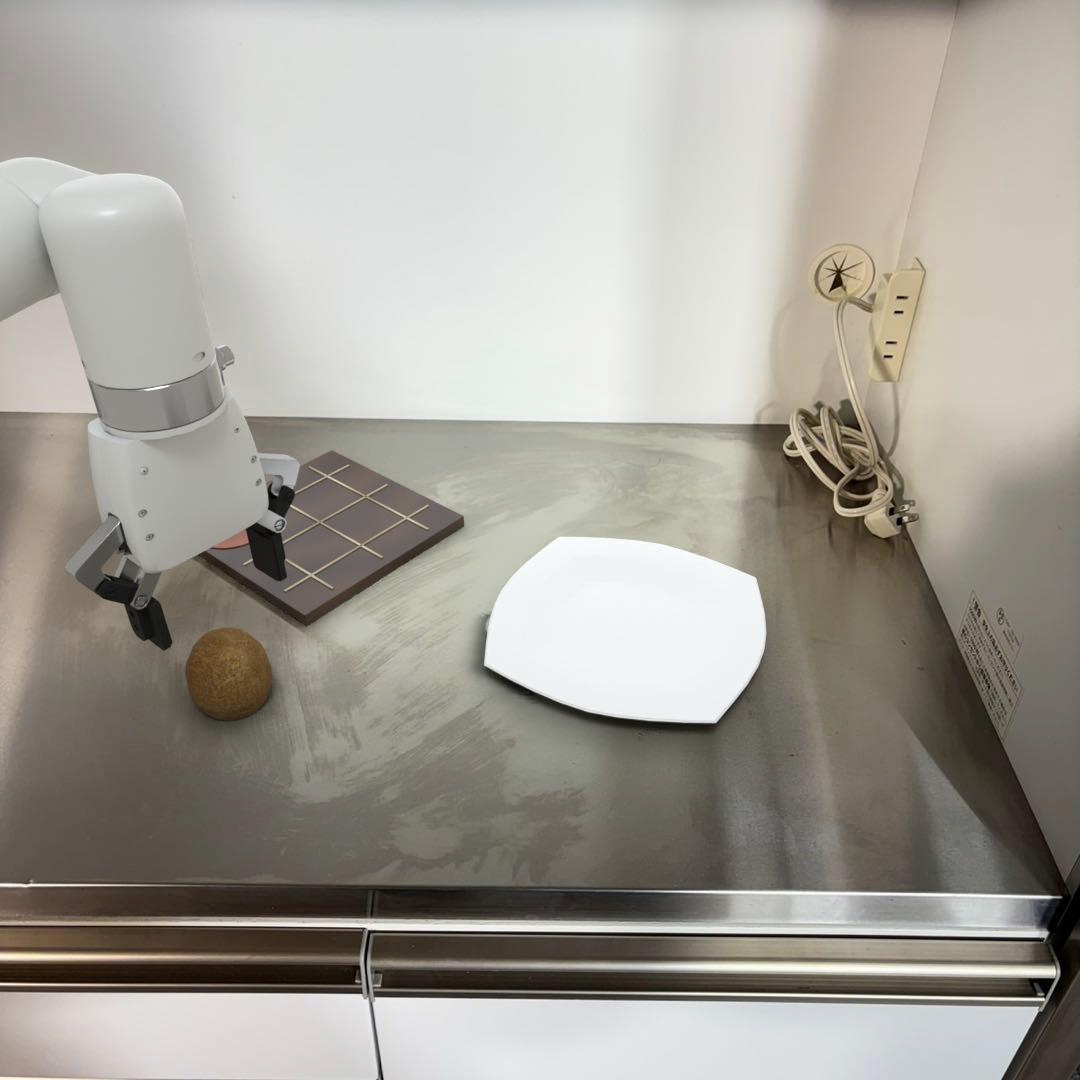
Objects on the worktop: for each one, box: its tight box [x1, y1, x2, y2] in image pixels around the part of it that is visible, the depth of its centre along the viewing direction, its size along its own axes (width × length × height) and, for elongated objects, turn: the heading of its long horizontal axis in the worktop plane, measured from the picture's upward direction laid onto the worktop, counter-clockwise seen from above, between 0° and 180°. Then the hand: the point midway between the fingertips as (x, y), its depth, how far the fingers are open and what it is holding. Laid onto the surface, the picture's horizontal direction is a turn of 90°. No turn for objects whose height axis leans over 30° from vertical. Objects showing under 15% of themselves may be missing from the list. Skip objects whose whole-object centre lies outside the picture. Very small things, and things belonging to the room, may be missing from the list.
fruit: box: [184, 626, 273, 722], centre depth 74 cm, size 6×6×8 cm
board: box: [197, 449, 465, 627], centre depth 95 cm, size 20×20×1 cm
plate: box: [483, 536, 767, 725], centre depth 83 cm, size 23×23×2 cm
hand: (216, 605), depth 69 cm, fingers open, 9 cm apart
